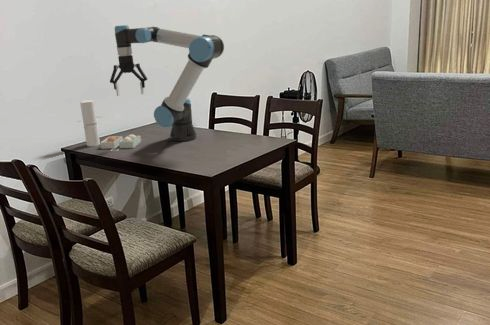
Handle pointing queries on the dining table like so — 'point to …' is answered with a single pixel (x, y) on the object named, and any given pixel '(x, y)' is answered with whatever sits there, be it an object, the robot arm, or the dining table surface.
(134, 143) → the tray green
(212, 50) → the robot arm
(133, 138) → the ivory ball
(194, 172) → the dining table surface
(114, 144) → the tray offwhite
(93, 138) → the cylindrical container
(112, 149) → the coaster
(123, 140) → the ivory ball
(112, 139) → the terracotta ball
